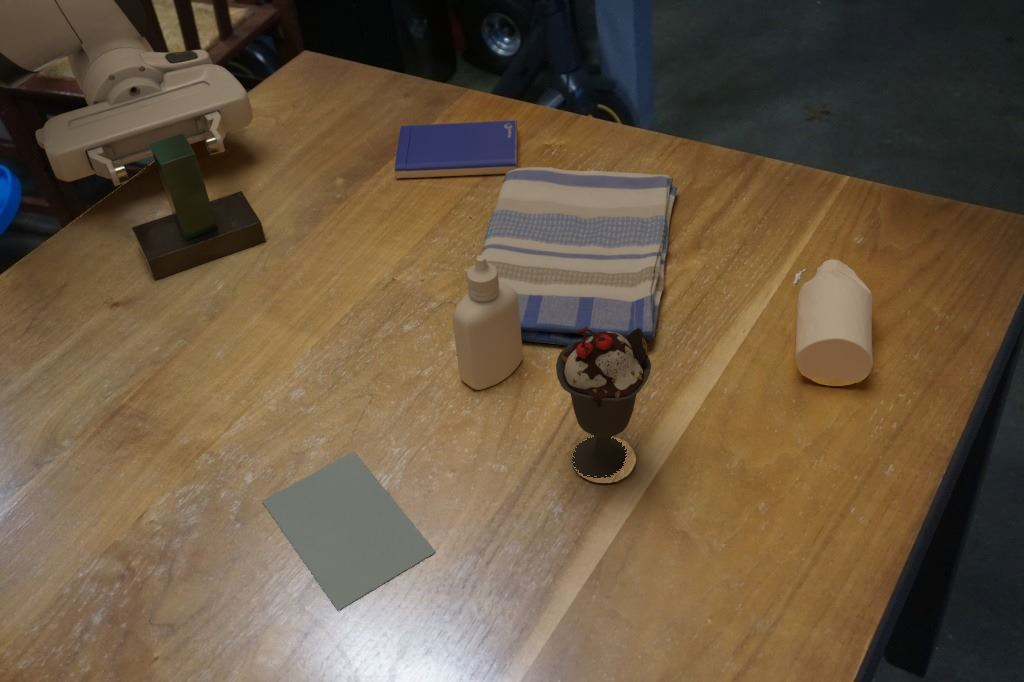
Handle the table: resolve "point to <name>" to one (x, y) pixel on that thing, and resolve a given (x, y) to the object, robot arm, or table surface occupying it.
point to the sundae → (603, 394)
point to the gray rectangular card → (347, 529)
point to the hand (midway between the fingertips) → (169, 162)
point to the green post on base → (193, 216)
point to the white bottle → (834, 325)
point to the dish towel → (581, 250)
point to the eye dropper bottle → (487, 328)
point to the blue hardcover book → (456, 149)
